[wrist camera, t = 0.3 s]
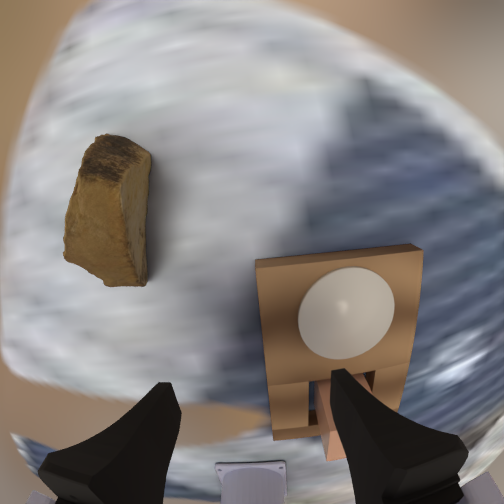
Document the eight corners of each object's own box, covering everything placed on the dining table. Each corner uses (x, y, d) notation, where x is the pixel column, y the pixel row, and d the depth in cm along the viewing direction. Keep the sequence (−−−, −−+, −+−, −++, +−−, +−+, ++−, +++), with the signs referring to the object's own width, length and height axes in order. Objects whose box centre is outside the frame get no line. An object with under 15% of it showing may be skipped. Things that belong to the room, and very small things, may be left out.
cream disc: (386, 346, 20) (389, 350, 20) (299, 360, 21) (300, 365, 20) (393, 260, 19) (397, 263, 18) (294, 272, 19) (296, 275, 18)
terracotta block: (354, 397, 24) (375, 451, 17) (313, 404, 24) (326, 461, 18) (358, 365, 23) (384, 420, 16) (314, 372, 23) (330, 431, 17)
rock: (167, 326, 20) (231, 201, 16) (52, 347, 13) (83, 177, 9) (110, 237, 25) (149, 135, 21) (23, 235, 18) (52, 111, 14)
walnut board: (388, 406, 25) (395, 419, 23) (272, 425, 25) (273, 440, 23) (410, 243, 20) (423, 250, 18) (255, 259, 21) (255, 268, 19)
